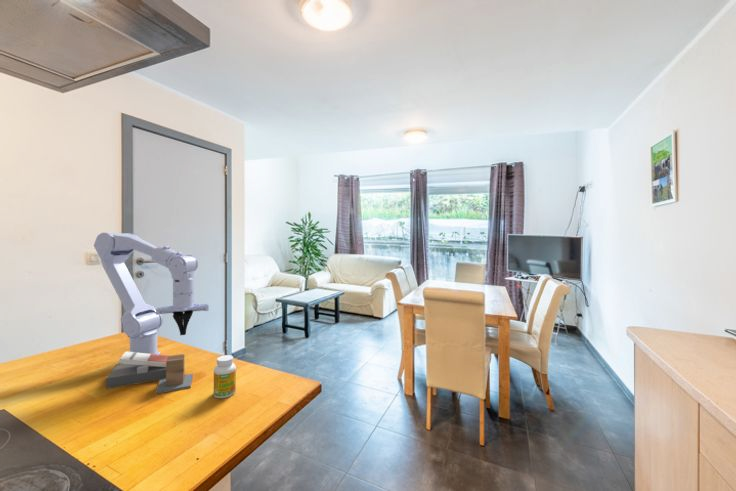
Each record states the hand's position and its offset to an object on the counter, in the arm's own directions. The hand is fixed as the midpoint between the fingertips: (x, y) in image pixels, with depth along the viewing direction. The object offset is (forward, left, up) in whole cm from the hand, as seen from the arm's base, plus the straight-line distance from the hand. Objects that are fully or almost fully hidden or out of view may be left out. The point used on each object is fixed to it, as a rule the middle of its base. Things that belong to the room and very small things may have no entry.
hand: (183, 334), depth 97 cm
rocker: (+5, -9, -6) cm, 12 cm away
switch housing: (+5, -9, -10) cm, 14 cm away
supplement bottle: (+25, +12, -10) cm, 30 cm away
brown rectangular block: (+14, -1, -9) cm, 17 cm away
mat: (+14, -1, -10) cm, 17 cm away
